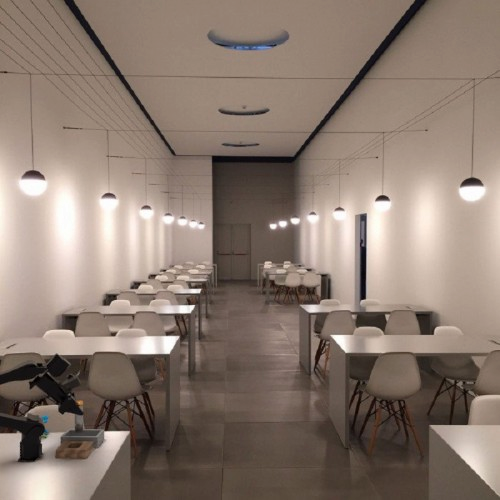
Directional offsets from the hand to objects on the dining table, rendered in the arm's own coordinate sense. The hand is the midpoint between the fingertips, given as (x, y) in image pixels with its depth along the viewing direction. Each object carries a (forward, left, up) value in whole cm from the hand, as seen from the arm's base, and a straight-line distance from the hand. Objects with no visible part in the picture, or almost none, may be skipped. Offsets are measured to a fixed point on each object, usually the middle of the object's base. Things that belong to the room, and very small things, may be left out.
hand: (82, 413), depth 191 cm
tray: (-2, +6, -14) cm, 15 cm away
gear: (-23, +14, -14) cm, 30 cm away
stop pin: (-1, -1, -7) cm, 7 cm away
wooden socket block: (-2, -3, -14) cm, 14 cm away
